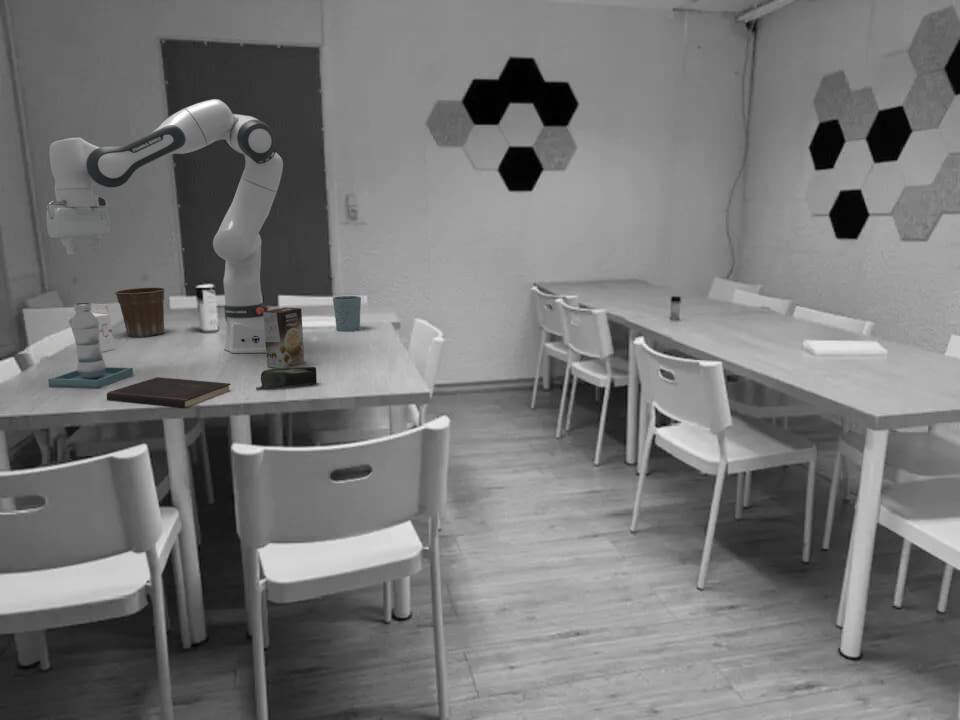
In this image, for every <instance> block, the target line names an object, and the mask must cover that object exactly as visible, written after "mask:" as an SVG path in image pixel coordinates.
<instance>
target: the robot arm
mask: <svg viewBox="0 0 960 720" xmlns="http://www.w3.org/2000/svg"><path fill="white" fill-rule="evenodd" d="M221 140H222V141H223V142H224V143H225V144H226V145H227V146H228V147H230V148H231V149H233V150H234V151H236V152H237V153H239V154H241V155H243V156H244V159H245V166H244V169H243V172H242V175H241V177H240V179H239V180H240V181H239V183H238V185H237V188H236V192H235V194H234V198H233V199H232V202H231V204H230V206H229V208H228V210H227V212H226V214H225V216H224V218H223V220H222V222H221V224H220V226H219V228H218V230H217V232H216V234H215V235H214V237H213V240H212V247H213V250H214V252H215V254H216V255H218V257H219V258H221V259H222V260H225V266H224V267H225V268H224V275H223V291H224V292H223V293H224V303H225V305H224V318H225V322H226V334H225V343H224V347H223V348H224V349H223V350H224V351H227V352H230V354H253V353H254V354H256V353H258V354H259V353H260V354H261V353H265V354H266V343H265V329H264V315H263V311H268V310H271V309H270V305H266V304H265V303H263V302H262V301H263V300H262V289H261V267H262V266H261V263H262V237H261V235H260V232H261V229H262V227H263V225H264V223H265V221H266V220H267V218H268V217H269V214H270V212H271V208H272V206H273V203H274V200H275V198H276V196H277V192H278V190H279V186H280V182H281V179H282V174H283V169H284V167H283V166H284V162H283V158H282V157H281V156H280V155H279V154H278V152H276V146H275V144H276V140H275V134H274V132H273V130H272V129H271V128H270V126H269V125H268V124H267V123H265V122H264V121H262V120H260V119H258V118H256V117H254V116H252V115H251V116H250V115H245V114H242V113H233V112H232V110H231V108H230V107H229V106H228V104H227V103H225V102H224V101H222V100H221V99H217V98H214V99H213V98H212V99H208V100H204V101H201V102H198V103H195V104H192V105H190V106H186V107H184V108H181V109H180V110H179V111H177V112H175V113H173V114H172V115H170V116H169V117H167V118H166V119H165V120H164V121H163V122H162V123H160V125H159V126H158V127H157V128H156V129H155V130H153V131H152V132H150V133H149V134H146V135H144V136H142V137H140V138H138V139H136V140H133V141H131V142H128V143H126V144H124V145H120V146H119V145H118V146H101V147H100V146H96V145H94V144H92V143H90V142H88V141H86V140H85V139H83V138H82V137H80V136H65V137H61V138H57V139H55V140H53V141H52V142H51V144H50V145H49V162H50V163H49V164H50V169H51V174H52V176H53V178H54V194H55V200H51V201H50V202H49V203H48V205H47V207H46V210H47V211H46V229H47V234H48V236H49V237H50V238H51V239H52V238H60V242H61V243H62V246H64V247H65V250H66V255H68V256H69V255H77V247H75V246H74V245H73V244H72V241H73V237H83V236H84V237H85V236H90V237H91V240H92V243H91V244H90V251H91V252H92V253H95V252H96V253H97V252H100V251H101V243H102V240H103V238H102V237H103V236H102V235H108V234H110V232H111V229H112V226H111V218H110V214H109V213H110V212H109V210H108V209H107V207H108V206H109V205H108V204H109V203H108V200H107V198H105V197H102V196H100V195H98V194H97V193H94V188H93V186H94V185H98V186H101V187H104V188H105V187H106V188H117V187H120V186H122V185H124V184H126V183H127V182H128V181H129V179H130V178H131V177H132V175H133V173H135V171H137V170H138V169H139V168H142V167H143V166H146V165H148V164H149V163H152V162H153V161H156V160H158V159H160V158H162V157H165V156H169V155H175V154H179V155H184V154H187V153H192V152H195V151H198V150H201V149H203V148H206V147H207V146H209V145H212V144H213V143H215V142H217V141H221Z"/></svg>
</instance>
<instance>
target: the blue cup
mask: <svg viewBox="0 0 960 720" xmlns="http://www.w3.org/2000/svg"><path fill="white" fill-rule="evenodd" d="M361 301H362V297H361V296H360V295H359V296H357V295H341V296H340V295H339V296H335V297H334V296H333V297H332V302H333V303H332V304H333V309H334V310H333V311H334V319H335V329H336V332H337V331H338V332H341V333H342V332H343V333H347V332H348V333H349V332H357V331H359V330H361V304H362V303H361Z"/></svg>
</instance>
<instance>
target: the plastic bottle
mask: <svg viewBox="0 0 960 720" xmlns="http://www.w3.org/2000/svg"><path fill="white" fill-rule="evenodd" d="M91 304H92V303H90V302H78V303H74V304H73V305H74V312H75V314H74V315H73V317H72V319H71V320H70V321H71V322H70V328H71V331H72V334H73V338H74V342H75V345H76V351H77V352H76V353H77V370H78V373H79V376H80V377H81V378H84V379H96V378H99V377H102V376H104V375H105V373H106V367H107V366H106V363H105V361H104V359H103V352H101V349H100V344H99V342H100V340H99V321H98V319H97V318H96V317H95V316H94V315H93V314H92V313H93V312H92V307H91Z"/></svg>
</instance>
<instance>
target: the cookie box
mask: <svg viewBox="0 0 960 720" xmlns="http://www.w3.org/2000/svg"><path fill="white" fill-rule="evenodd" d="M302 313H303V312H302V308H298V307H281V308H274V309H268V311H263V315H264V329H265V343H266V352H265V354H266V357H265V358H266V367H269V368H292V367H293V366H294V367H295V366H298V365H301V364H303V363H305V362H306V361H305V348H304V332H303V330H304V329H303V317H302V316H303V314H302Z"/></svg>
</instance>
